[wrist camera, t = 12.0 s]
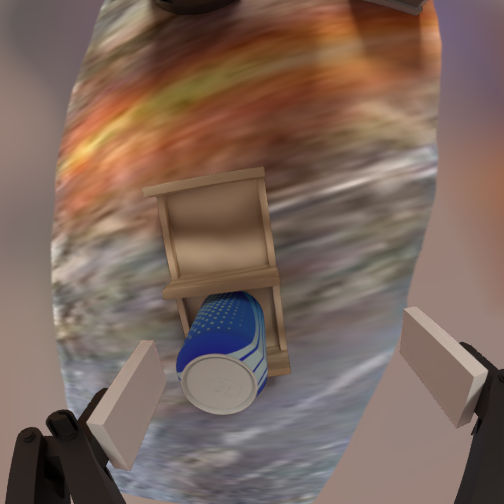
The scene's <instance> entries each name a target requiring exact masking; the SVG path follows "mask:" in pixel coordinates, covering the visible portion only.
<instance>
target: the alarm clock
mask: <svg viewBox="0 0 504 504" xmlns="http://www.w3.org/2000/svg"><path fill="white" fill-rule="evenodd" d="M364 1H368V2H372V3H376V4H379V5H383V6H386V7H390V8H393V9H396V10H399V11H403V12H406V13H409V14H411V15H414V16H416V15H419V14H420V13H421V12H422V10H423V7H422V6H423V5H424V4H425V3H426V2H427V1H428V0H364Z"/></svg>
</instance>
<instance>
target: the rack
mask: <svg viewBox="0 0 504 504" xmlns="http://www.w3.org/2000/svg"><path fill="white" fill-rule="evenodd" d="M264 177H265V172H264V166H263V167H256V168H249V169H242V170H236V171H229V172H223V173H217V174H212V175H206V176H200V177H195V178H190V179H184V180H179V181H174V182H169V183H164V184H160V185H155V186H150V187H146V188H142V190H143V197H157V204H158V210H159V216H160V222H161V227H162V233H163V238H164V244H165V249H166V254H167V259H168V264H169V269H170V274H171V278H172V281H171V282H170V283H169V284H168V285H167V286H166V288H165V289H164V290H163V291H162V295H163V299H164V300H168V299H176V301H177V305H178V310H179V314H180V318H181V322H182V326H183V330H184V334H185V338H186V337H187V335H188V333H189V331H190V329H191V326H192V324H193V322H194V320H195V318H196V316H197V314H198V311H199V309H200V307H201V305H202V303H203V302H204V300H205V299H206V298H207V297H208V296H209V295H211V294H218V293H226V292H234V291H241V290H242V291H245V292H247V293H248V294H250V295H251V296H253V297H254V298H255V299H256V300H257V301H258V303H259V304H260V306H261V308H262V310H263V313H264V322H265V336H266V352H267V367H268V375H267V377H272V376H279V375H286V374H291V370H290V363H289V358H288V353H287V346H286V338H285V330H284V322H283V314H282V306H281V298H280V290H279V285H280V279H279V274H278V270H277V267H276V260H275V252H274V245H273V238H272V231H271V224H270V217H269V210H268V203H267V196H266V189H265V182H264Z"/></svg>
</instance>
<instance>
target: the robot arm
mask: <svg viewBox="0 0 504 504" xmlns="http://www.w3.org/2000/svg"><path fill="white" fill-rule="evenodd" d="M154 1H155V3H156V4H157V5H158V6H159V7H161V8H162V9H164V10H166V11H169V12H172V13H177V14H198V13H204V12H208V11H212V10H215V9H218V8H220V7H223V6H225V5H227V4H229V3H230V2H232V1H233V0H154ZM400 354H401V355H402V356H403V358H404V359H405V360H406V361H407V363H408V364H409V365H410V367H411V368H412V369H413V371H414V372H415V373H416V374H417V376H418V377H419V378H420V380H421V381H422V382H423V384H424V385H425V386H426V388H427V389H428V390H429V392H430V393H431V394H432V396H433V397H434V399H435V400H436V401H437V403H438V404H439V405H440V407H441V408H442V409H443V411H444V412H445V414H446V415H447V416H448V418H449V419H450V421H451V422H452V423H453V425H454V426H455V428H459V427H461V426H463V425H465V424H467V423H469V422H470V421H471V418H472V416H473V413H474V412H475V413H476V415H477V416H478V420H477V422H476V424H475V426H474V428H473V431H472V433H471V435H473V434H474V435H473V440H472V444H471V448H470V453H469V457H468V460H467V464H466V468H465V471H464V475H463V478H462V481H461V484H460V487H459V490H458V493H457V496H456V499H455V502H454V504H504V369H501V370H498V369H497V368H496V367H495V366H494V365H493V364H491V363H490V362H489V361H488V360H487V359H486V358H485V357H484V356H483V357H482V355H481V354H480V353H479V352H477V350H476V349H475V348H473V347H472V346H471V345H469V344H467V343H464V342H460V343H457V342H456V341H455V340H454V339H453V338H452V337H451V336H450V335H448V334H447V333H446V332H445V331H444V330H443V329H441V328H440V327H439V326H438V325H437V324H436V323H435V322H434V321H432V320H431V319H430V318H429V317H428V316H426V315H425V314H424V313H423V312H422V311H421V310H419V309H418V308H417V307H416V306H415V307H411V308H406V309H404V310H403V324H402V336H401V347H400ZM166 383H167V381H166V378H165V375H164V372H163V369H162V365H161V362H160V359H159V356H158V353H157V349H156V346H155V342H154V340H148V341H140V343H139V344H138V346H137V347H136V349H135V350H134V352H133V353H132V354H131V356H130V357H129V359H128V360H127V362H126V363H125V365H124V366H123V368H122V369H121V371H120V372H119V374H118V375H117V376H116V378H115V379H114V381H113V382H112V384H111V385H110V387H109V388H103V389H101V390H100V391H99V392H97V393H96V394H95V396H94V397H93V399H92V400H91V402H90V403H89V404H88V406H87V407H86V409H85V410H84V412H83V413H82V415H81V416H80V417H79V419H78V420H77V419H76V418H75V416H74V414H73V413H72V412H71V411H69V410H58V411H56V412H54V413H52V414H51V415H49V416H48V418H47V420H46V425H47V427H48V428H49V430H50V432H51V433H52V435H53V436H43V435H42V433H41V432H40V430H39V429H38V428H35V427H29V428H26V429H24V430H22V431H21V432H20V433H19V434H18V437H17V440H16V444H15V448H14V453H13V458H12V463H11V468H10V473H9V479H8V486H7V493H6V501H5V504H71V500H70V499H71V498H70V494H71V497H72V500H73V503H74V504H126V502H125V500H124V499H123V497H122V495H121V493H120V491H119V489H118V487H117V485H116V483H115V482H114V480H113V478H112V476H111V474H110V471H109V470H108V468H107V467H106V465H107V463H108V460H109V461H110V462H111V463H112V465H113V466H114V468H117V469H123V470H129V471H131V468H132V466H133V463H134V461H135V458H136V456H137V453H138V451H139V448H140V446H141V443H142V441H143V438H144V436H145V433H146V431H147V429H148V426H149V424H150V421H151V419H152V416H153V414H154V412H155V409H156V407H157V404H158V402H159V400H160V397H161V395H162V393H163V390H164V388H165V386H166Z"/></svg>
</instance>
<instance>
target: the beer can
mask: <svg viewBox="0 0 504 504" xmlns="http://www.w3.org/2000/svg"><path fill="white" fill-rule="evenodd" d="M176 370H177V375H178V378H179V381H180V383H181V387H182V391H183V393H184V395H185V396H186V398H187V399H188V400H189V401H190V402H191V403H192V404H193V405H194V406H196V407H197V408H199V409H201V410H203V411H205V412H208V413H212V414H218V415H228V414H234V413H237V412H240V411H242V410H244V409H246V408H247V407H248V406H249V405H250V404H251V403H252V402H253V401H254V399H255V397H256V396H258V395H259V393H260V392H261V391H262V389H263V388H264V386H265V383H266V380H267V375H268V367H267V352H266V336H265V322H264V313H263V310H262V308H261V306H260V304H259V303H258V301H257V300H256V299H255V298H254V297H253V296H251V295H250V294H248V293H247V292H245V291H242V290H241V291H234V292H226V293H218V294H211V295H209V296H208V297H207V298H206V299H205V300H204V302H203V303H202V305H201V307H200V309H199V311H198V314H197V316H196V318H195V320H194V322H193V324H192V326H191V329H190V331H189V333H188V335H187V337H186V339H185V341H184V344H183V346H182V348H181V350H180V352H179V355H178V358H177V363H176Z"/></svg>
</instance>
